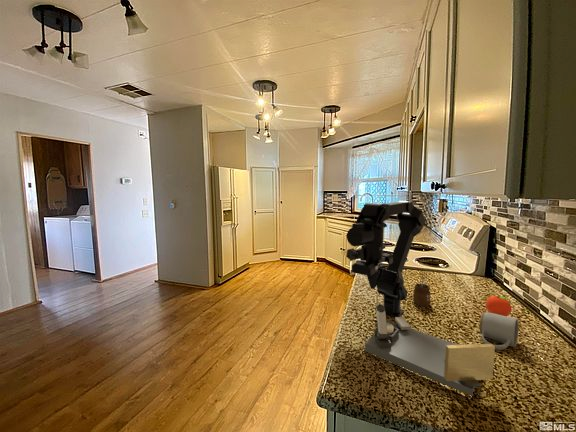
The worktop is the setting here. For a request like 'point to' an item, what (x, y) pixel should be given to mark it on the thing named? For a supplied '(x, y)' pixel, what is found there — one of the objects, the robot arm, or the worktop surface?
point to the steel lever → (382, 323)
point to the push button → (390, 329)
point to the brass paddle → (469, 363)
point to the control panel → (415, 354)
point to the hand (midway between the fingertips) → (372, 288)
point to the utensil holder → (422, 293)
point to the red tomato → (498, 305)
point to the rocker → (402, 323)
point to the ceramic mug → (499, 329)
